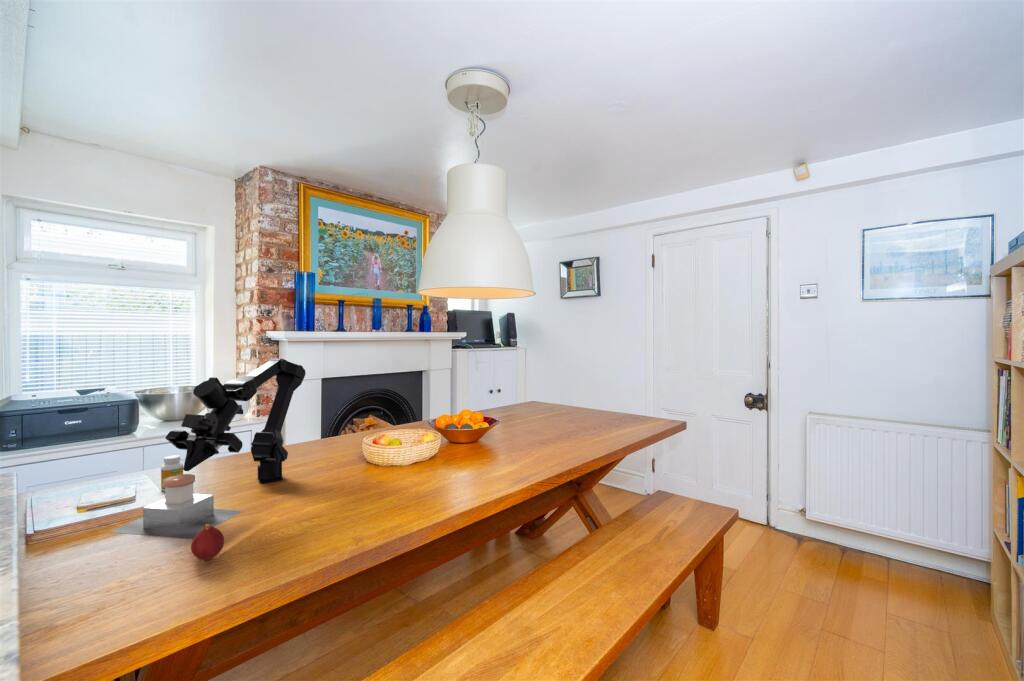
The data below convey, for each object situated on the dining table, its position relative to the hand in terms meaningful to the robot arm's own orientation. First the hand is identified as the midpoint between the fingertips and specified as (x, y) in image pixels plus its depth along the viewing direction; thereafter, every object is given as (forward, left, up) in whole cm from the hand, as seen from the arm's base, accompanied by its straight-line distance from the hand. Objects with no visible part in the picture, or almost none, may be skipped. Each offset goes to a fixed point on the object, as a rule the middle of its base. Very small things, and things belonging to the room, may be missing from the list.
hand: (185, 470), depth 114 cm
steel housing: (+1, +1, -12) cm, 12 cm away
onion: (-5, +26, -13) cm, 29 cm away
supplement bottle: (+5, -30, -13) cm, 33 cm away
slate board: (+1, +1, -13) cm, 13 cm away
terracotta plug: (+1, +1, -8) cm, 8 cm away
